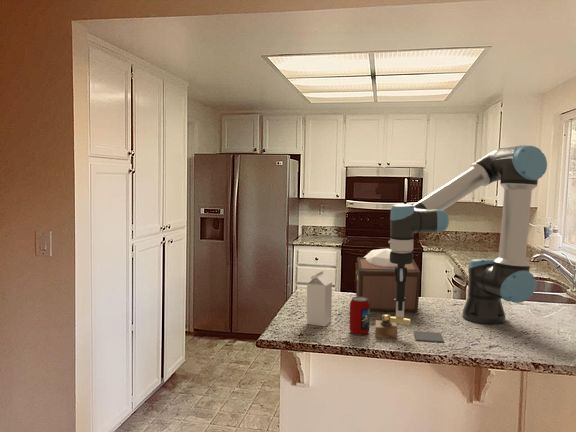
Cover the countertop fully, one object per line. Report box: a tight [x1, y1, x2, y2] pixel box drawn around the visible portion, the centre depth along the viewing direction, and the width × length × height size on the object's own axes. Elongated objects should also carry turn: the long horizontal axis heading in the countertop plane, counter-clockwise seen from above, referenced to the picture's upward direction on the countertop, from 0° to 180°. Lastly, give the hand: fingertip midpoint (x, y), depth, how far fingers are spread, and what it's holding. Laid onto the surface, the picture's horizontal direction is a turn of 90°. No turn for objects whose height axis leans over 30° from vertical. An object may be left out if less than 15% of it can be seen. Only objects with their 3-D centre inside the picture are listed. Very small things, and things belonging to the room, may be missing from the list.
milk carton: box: [306, 270, 333, 327], centre depth 171 cm, size 7×7×19 cm
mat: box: [413, 330, 445, 344], centre depth 156 cm, size 9×9×1 cm
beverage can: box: [349, 296, 371, 336], centre depth 160 cm, size 7×7×12 cm
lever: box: [381, 313, 412, 326], centre depth 157 cm, size 9×3×2 cm, turn 62°
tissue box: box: [355, 248, 421, 313], centre depth 198 cm, size 24×28×24 cm
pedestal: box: [374, 319, 398, 340], centre depth 159 cm, size 7×8×4 cm
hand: (399, 319), depth 158 cm, fingers closed
